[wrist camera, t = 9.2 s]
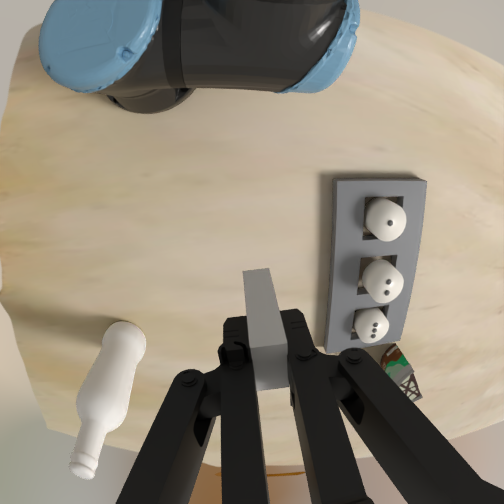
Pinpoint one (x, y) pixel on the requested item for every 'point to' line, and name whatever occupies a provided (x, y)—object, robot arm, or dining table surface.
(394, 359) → the food container
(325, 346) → the button board
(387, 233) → the one dot button
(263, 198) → the dining table surface
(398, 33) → the dining table surface
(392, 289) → the two dot button
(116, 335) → the bottle
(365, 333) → the three dot button
